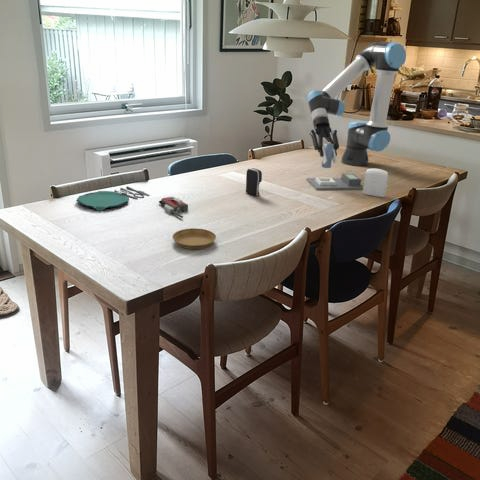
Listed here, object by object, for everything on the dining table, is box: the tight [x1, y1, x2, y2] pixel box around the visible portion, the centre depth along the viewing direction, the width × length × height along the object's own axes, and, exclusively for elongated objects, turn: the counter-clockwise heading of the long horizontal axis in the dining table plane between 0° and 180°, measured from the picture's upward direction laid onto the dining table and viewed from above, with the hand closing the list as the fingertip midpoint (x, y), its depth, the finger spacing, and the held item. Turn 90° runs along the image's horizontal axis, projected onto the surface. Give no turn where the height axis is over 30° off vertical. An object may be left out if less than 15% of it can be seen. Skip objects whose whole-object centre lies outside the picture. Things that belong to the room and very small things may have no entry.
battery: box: [245, 167, 263, 197], centre depth 219 cm, size 7×4×11 cm, turn 42°
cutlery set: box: [75, 186, 150, 212], centre depth 205 cm, size 20×30×2 cm, turn 142°
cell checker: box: [306, 173, 364, 191], centre depth 240 cm, size 24×16×4 cm, turn 100°
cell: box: [321, 141, 334, 169], centre depth 234 cm, size 4×4×12 cm
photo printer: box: [362, 167, 389, 198], centre depth 226 cm, size 10×4×12 cm, turn 63°
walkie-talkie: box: [158, 196, 189, 219], centre depth 197 cm, size 9×4×20 cm
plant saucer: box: [172, 227, 217, 250], centre depth 169 cm, size 15×15×3 cm
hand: (330, 162), depth 232 cm, fingers closed on cell, 4 cm apart
